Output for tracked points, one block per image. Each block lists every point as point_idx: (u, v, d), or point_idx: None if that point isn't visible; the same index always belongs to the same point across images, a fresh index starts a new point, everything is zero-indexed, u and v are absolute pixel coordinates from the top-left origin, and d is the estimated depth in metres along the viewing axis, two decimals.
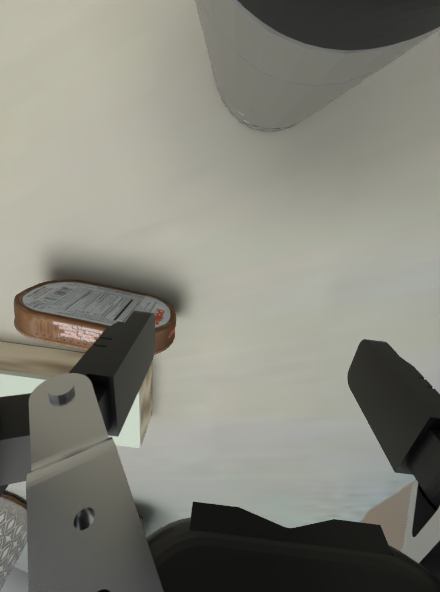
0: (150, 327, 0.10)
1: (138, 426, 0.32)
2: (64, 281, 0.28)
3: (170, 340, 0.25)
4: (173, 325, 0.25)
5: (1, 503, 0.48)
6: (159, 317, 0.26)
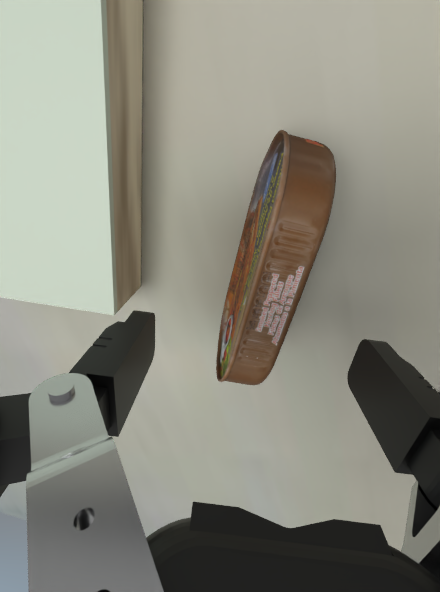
0: (150, 327, 0.10)
1: (27, 299, 0.17)
2: None
3: None
4: None
5: None
6: None
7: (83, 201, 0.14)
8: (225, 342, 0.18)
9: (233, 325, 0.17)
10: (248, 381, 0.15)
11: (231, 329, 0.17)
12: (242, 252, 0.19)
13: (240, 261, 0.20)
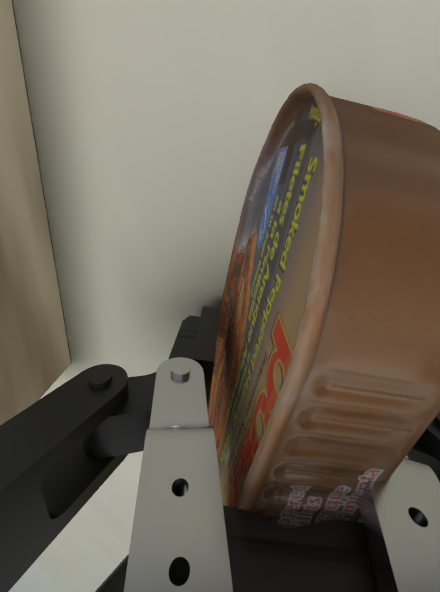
0: None
1: None
2: None
3: None
4: None
5: None
6: None
7: None
8: None
9: None
10: None
11: None
12: (226, 315, 0.12)
13: (224, 329, 0.12)
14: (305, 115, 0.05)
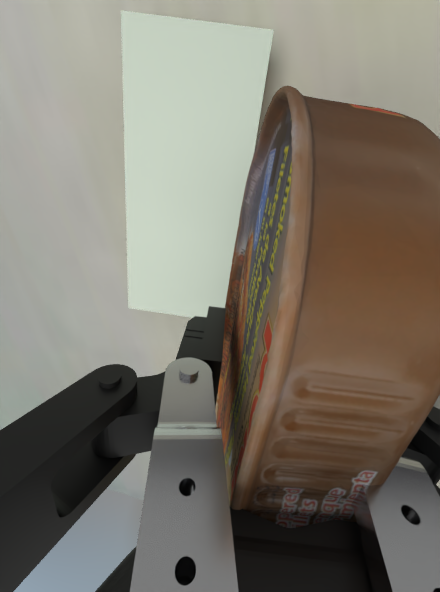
0: None
1: (170, 313, 0.26)
2: None
3: None
4: None
5: None
6: None
7: (221, 253, 0.23)
8: None
9: None
10: None
11: None
12: (230, 318, 0.12)
13: (228, 332, 0.12)
14: (288, 117, 0.05)
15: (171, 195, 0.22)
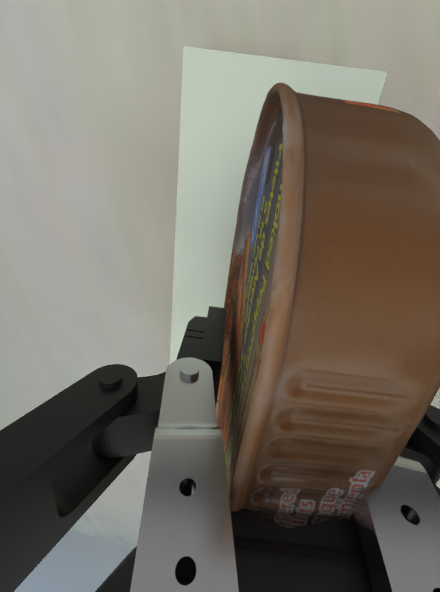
0: None
1: None
2: None
3: None
4: None
5: None
6: None
7: None
8: None
9: None
10: None
11: None
12: (229, 318, 0.12)
13: (228, 331, 0.12)
14: (283, 114, 0.05)
15: None
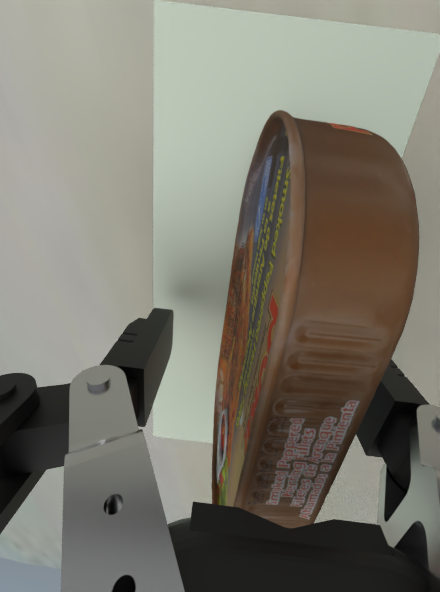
0: (170, 323, 0.10)
1: None
2: None
3: None
4: None
5: None
6: None
7: None
8: (220, 451, 0.12)
9: (228, 437, 0.11)
10: None
11: (226, 444, 0.11)
12: (233, 306, 0.13)
13: (231, 318, 0.13)
14: (283, 132, 0.07)
15: None
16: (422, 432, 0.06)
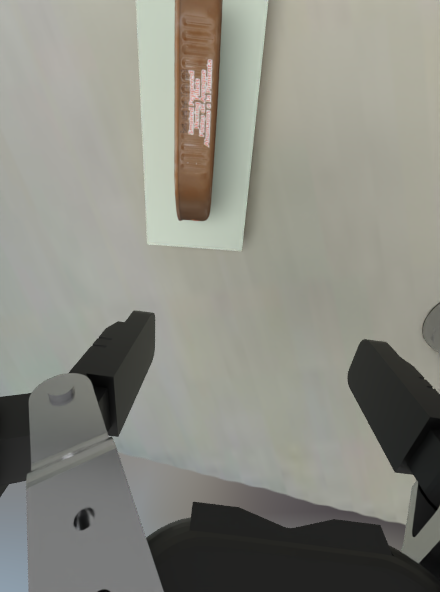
0: (150, 327, 0.10)
1: (187, 245, 0.28)
2: None
3: (186, 219, 0.21)
4: (204, 220, 0.22)
5: None
6: None
7: (234, 178, 0.25)
8: None
9: None
10: (197, 198, 0.18)
11: None
12: None
13: None
14: None
15: None
16: None
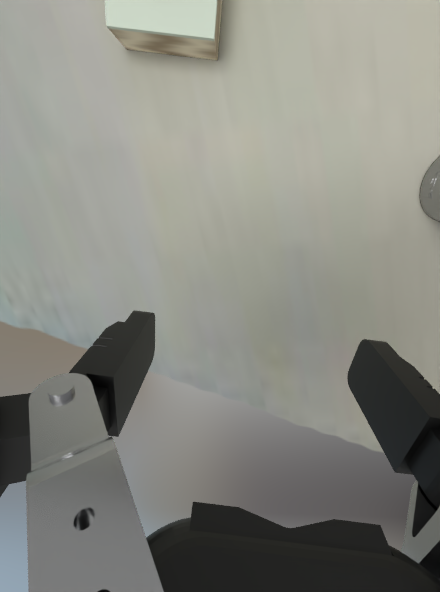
0: (150, 327, 0.10)
1: (151, 29, 0.24)
2: None
3: None
4: None
5: None
6: None
7: None
8: None
9: None
10: None
11: None
12: None
13: None
14: None
15: None
16: None
